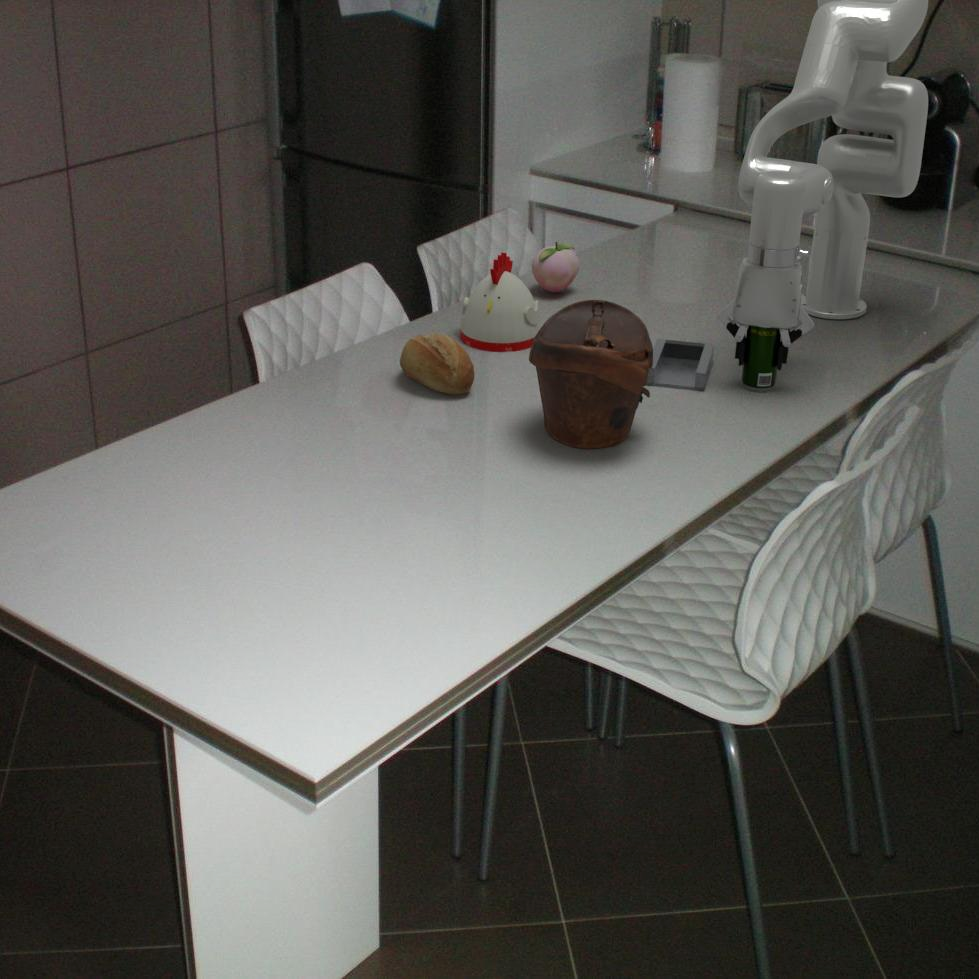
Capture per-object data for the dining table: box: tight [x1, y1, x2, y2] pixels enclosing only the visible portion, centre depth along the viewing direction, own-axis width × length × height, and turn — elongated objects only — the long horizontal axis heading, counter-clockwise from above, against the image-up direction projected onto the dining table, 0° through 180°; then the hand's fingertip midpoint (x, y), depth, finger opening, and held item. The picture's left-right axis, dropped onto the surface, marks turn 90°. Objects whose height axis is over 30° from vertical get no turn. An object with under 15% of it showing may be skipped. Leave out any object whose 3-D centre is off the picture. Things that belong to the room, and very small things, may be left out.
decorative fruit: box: [531, 241, 581, 294], centre depth 257 cm, size 9×8×10 cm
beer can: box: [741, 325, 782, 393], centre depth 218 cm, size 5×5×12 cm
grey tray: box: [646, 338, 715, 392], centre depth 225 cm, size 13×10×3 cm
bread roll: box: [399, 333, 475, 395], centre depth 218 cm, size 10×15×8 cm, turn 39°
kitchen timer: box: [460, 252, 542, 353], centre depth 235 cm, size 14×14×15 cm
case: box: [528, 299, 654, 450], centre depth 201 cm, size 18×20×18 cm
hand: (760, 363), depth 219 cm, fingers closed on beer can, 5 cm apart
